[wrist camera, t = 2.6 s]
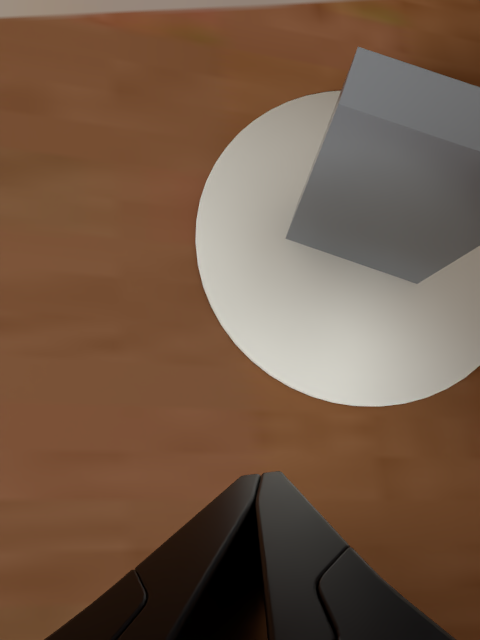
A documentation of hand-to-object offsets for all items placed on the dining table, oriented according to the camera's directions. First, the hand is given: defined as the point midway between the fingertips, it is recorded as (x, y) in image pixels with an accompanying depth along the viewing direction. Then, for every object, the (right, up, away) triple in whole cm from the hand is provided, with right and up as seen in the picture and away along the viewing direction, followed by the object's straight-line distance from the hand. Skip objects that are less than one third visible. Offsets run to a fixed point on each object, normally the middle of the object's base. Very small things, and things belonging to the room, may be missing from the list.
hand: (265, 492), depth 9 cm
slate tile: (+5, +7, +13) cm, 16 cm away
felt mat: (+6, +8, +14) cm, 17 cm away
